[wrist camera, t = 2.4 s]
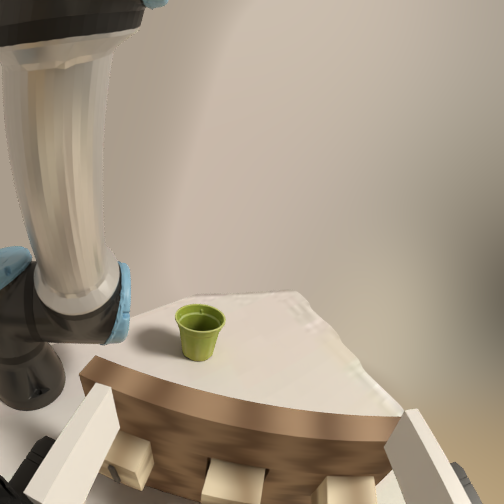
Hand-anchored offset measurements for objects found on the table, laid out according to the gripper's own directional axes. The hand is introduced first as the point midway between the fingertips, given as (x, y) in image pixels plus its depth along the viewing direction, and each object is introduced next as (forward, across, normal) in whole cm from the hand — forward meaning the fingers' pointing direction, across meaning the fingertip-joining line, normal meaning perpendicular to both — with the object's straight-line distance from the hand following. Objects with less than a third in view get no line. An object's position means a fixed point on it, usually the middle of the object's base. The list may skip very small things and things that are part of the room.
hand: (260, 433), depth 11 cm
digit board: (+11, 0, -27) cm, 29 cm away
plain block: (+9, 0, -19) cm, 21 cm away
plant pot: (+41, -9, -24) cm, 49 cm away
